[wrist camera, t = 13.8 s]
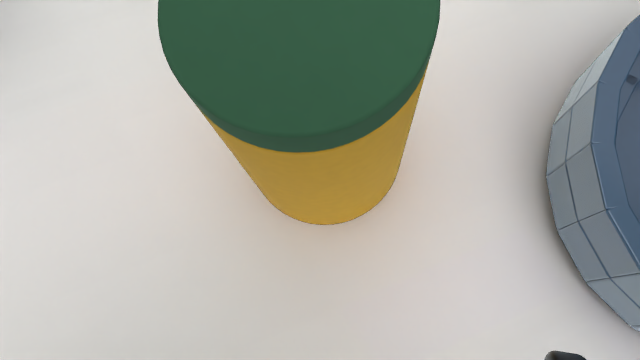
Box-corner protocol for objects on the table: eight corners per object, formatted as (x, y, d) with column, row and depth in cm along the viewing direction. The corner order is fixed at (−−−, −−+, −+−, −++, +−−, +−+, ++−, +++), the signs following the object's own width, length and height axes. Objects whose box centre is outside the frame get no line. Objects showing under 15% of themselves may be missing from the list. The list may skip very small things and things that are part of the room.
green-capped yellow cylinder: (410, 216, 22) (461, 118, 11) (256, 232, 22) (160, 152, 11) (390, 72, 23) (420, -139, 12) (246, 89, 23) (151, -104, 13)
